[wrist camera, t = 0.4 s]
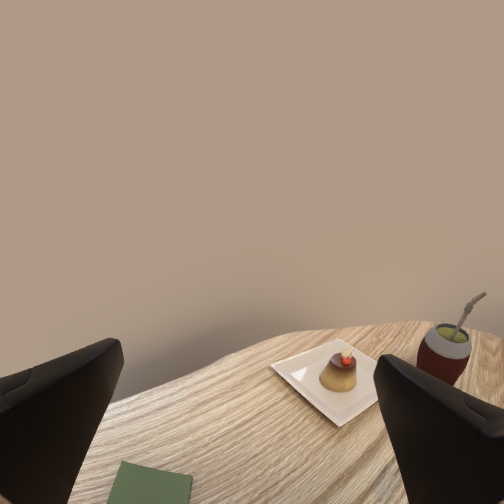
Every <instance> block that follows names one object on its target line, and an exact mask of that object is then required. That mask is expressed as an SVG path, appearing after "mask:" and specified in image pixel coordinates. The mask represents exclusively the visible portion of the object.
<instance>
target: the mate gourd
mask: <svg viewBox="0 0 504 504" xmlns="http://www.w3.org/2000/svg"><path fill="white" fill-rule="evenodd" d="M484 296H486V293H485V292H484V293H481V294H480V295H478V296H476V297H474V298H473V299H472V300H471V301H470V302H469V303H468V304H467V305H466V307H465V309H464V313H463V315H462V317H461V319H460V321H459V323H458V324H457V326H456V325H453V324H448V323H441V324H437V325H435V326H434V327H432V328H431V329H430V330H429V331H428V332H427V334H426V335H425V337H424V338H423V340H422V342H421V344H420V346H419V350H418V355H417V368H418V369H420V370H422V371H424V372H426V373H428V374H430V375H432V376H434V377H436V378H438V379H440V380H441V381H443V382H445V383H447V384H449V385H451V386H453V385H454V384H455V382H456V381H457V379H458V377H459V376H460V375H461V374H462V372H463V371H464V369H465V367H466V365H467V363H468V360H469V357H470V353H471V350H472V345H471V339H470V336H469V334H468V333H467V332H466V331H465V330H463V329H462V328H461V326H462V324H463V323H464V321H465V319H466V317H467V315H468V314H470V312H471V310H472V308H473V305H474V304H475V303H476V302H477V301H479V300H480V299H481V298H483V297H484Z"/></svg>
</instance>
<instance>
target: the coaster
mask: <svg viewBox="0 0 504 504" xmlns="http://www.w3.org/2000/svg"><path fill="white" fill-rule="evenodd" d="M192 479H193V478H192V476H190V475H184V474H177V473H172V472H166V471H161V470H156V469H152V468H147V467H143V466H139V465H135V464H131V463H128V462H124V461H122V463H121V465H120V468H119V471H118V473H117V476H116V479H115V482H114V484H113V487H112V490H111V493H110V496H109V499H108V502H107V504H189V498H190V492H191V485H192Z"/></svg>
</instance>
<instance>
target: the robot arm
mask: <svg viewBox="0 0 504 504" xmlns="http://www.w3.org/2000/svg"><path fill="white" fill-rule="evenodd" d="M123 365H124V357H123V352H122V347H121V343H120V341H119V340H118V339H113V338H107V339H104V340H102V341H99V342H97V343H94V344H92V345H89V346H87V347H85V348H82V349H79V350H77V351H74V352H71V353H69V354H66V355H64V356H61V357H59V358H56V359H53V360H51V361H48V362H45V363H43V364H40V365H38V366H35V367H33V368H29V369H27V370H24V371H21V372H18V373H15V374H12V375H9V376H6V377H2V378H0V504H67V502H68V499H69V497H70V494H71V491H72V488H73V486H74V483H75V481H76V478H77V475H78V473H79V470H80V468H81V466H82V463H83V461H84V458H85V456H86V454H87V451H88V449H89V447H90V444H91V442H92V440H93V438H94V435H95V433H96V431H97V429H98V426H99V424H100V422H101V420H102V418H103V416H104V413H105V411H106V409H107V407H108V405H109V403H110V401H111V398H112V396H113V393H114V390H115V387H116V384H117V381H118V379H119V376H120V373H121V370H122V368H123ZM373 380H374V384H375V388H376V393H377V397H378V401H379V406H380V410H381V413H382V417H383V420H384V423H385V425H386V428H387V431H388V434H389V437H390V440H391V443H392V447H393V450H394V453H395V456H396V459H397V463H398V466H399V469H400V473H401V476H402V480H403V483H404V487H405V490H406V494H407V498H408V502H409V504H504V409H502V408H499V407H497V406H494V405H492V404H489V403H487V402H484V401H482V400H480V399H478V398H475V397H473V396H471V395H469V394H467V393H465V392H463V391H461V390H459V389H457V388H455V387H453V386H451V385H449V384H447V383H445V382H443V381H441V380H440V379H438V378H436V377H434V376H432V375H430V374H428V373H426V372H424V371H422V370H420V369H418V368H416V367H415V366H413V365H411V364H409V363H407V362H405V361H403V360H401V359H399V358H398V357H396V356H394V355H392V354H386V355H381V356H380V357H379V359H378V362H377V365H376V368H375V370H374V374H373Z"/></svg>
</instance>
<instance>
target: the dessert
mask: <svg viewBox="0 0 504 504" xmlns="http://www.w3.org/2000/svg"><path fill="white" fill-rule="evenodd" d="M376 365H377V362H376V361H375V360H373V359H371V358H370V357H368V356H367V355H365V354H363V353H362V352H360V351H358V350H357V349H355V348H354V347H352V346H350V345H349V344H347V343H346V342H344V341H342V340H341V339H339V338H337V339H334V340H332V341H330V342H327V343H325V344H322V345H320V346H318V347H315V348H313V349H310V350H307V351H305V352H302V353H300V354H297V355H294V356H292V357H289V358H286V359H283V360H281V361H278V362H275V363H272V364H270V366H271V367H272V368H273V369H274V370H275V371H276V372H277V373H279V374H280V375H281V376H282V377H283V378H284V379H285V380H286V381H287V382H288V383H289V384H290V385H291V386H293V387H294V388H295V389H296V390H297V391H298V392H299V393H300V394H301V395H303V396H304V397H305V398H306V399H307V400H308V401H309V402H310V403H312V404H313V405H314V406H315V407H316V408H317V409H318V410H320V411H321V412H322V413H323V414H324V415H325V416H327V417H328V418H329V419H330V420H331V421H333V422H334V423H335V424H336V425H337V426H339V427H341V426H342V425H344V424H345V423H347V422H348V421H350V420H351V419H353V418H354V417H356V416H357V415H358V414H360V413H361V412H363V411H364V410H365V409H367V408H368V407H369V406H371V405H372V404H373V403H375V402H376V401H377V400H378V397H377V393H376V388H375V384H374V380H373V374H374V370H375V368H376Z"/></svg>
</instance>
